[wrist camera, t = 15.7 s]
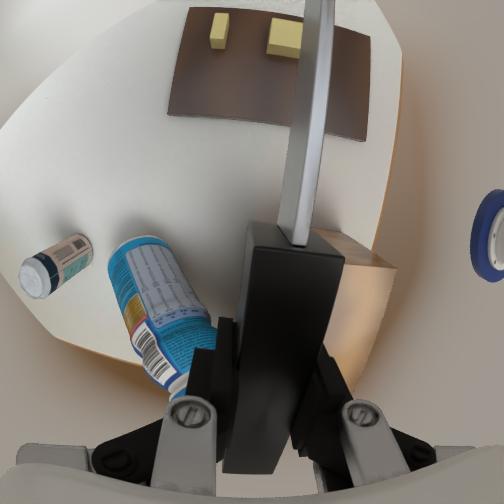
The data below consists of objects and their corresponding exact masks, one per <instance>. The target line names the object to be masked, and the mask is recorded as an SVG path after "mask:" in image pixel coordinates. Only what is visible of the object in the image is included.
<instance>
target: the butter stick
mask: <svg viewBox="0 0 504 504" xmlns="http://www.w3.org/2000/svg"><path fill="white" fill-rule="evenodd" d="M302 29H303V23H300V22H295V21H289V20H283V19H277V18H272V21H271V25H270V29H269V36H268V43H267V51H266V53H267V54H274V55H280V56H286V57H292V58H297V59H299V56H300V48H301V39H302Z"/></svg>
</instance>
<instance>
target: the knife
mask: <svg viewBox="0 0 504 504" xmlns="http://www.w3.org/2000/svg"><path fill="white" fill-rule="evenodd" d="M334 18H335V0H305V10H304V20H303V29H302V39H301V48H300V56H299V65H298V73H297V82H296V90H295V98H294V106H293V113H292V121H291V129H290V136H289V144H288V151H287V158H286V165H285V172H284V179H283V186H282V193H281V200H280V206H279V213H278V220H277V225H273V224H265V223H257V222H249V225H248V233H247V240H246V248H245V255H244V263H243V271H242V279H241V286H240V294H239V302H238V310H237V318H236V370H237V371H239V396H238V403H237V410H236V416H235V422H234V428H233V434H232V440H231V446H230V449H225V455H224V459H222V473H229V474H273V472H274V470H275V467H276V465H277V463H278V461H279V459H280V456H281V454H282V452H283V450H284V447H285V445H286V443H287V440H288V438H289V436H290V432H291V430H292V427H293V425H294V422H295V420H296V417H297V415H298V412H299V409H300V407H301V404H302V401H303V399H304V396H305V393H306V391H307V388H308V385H309V382H310V379H311V376H312V374H313V372H314V369H315V366H316V363H317V360H318V357H319V354H320V351H321V348H322V345H323V341H324V338H325V335H326V332H327V328H328V325H329V321H330V318H331V314H332V311H333V307H334V303H335V300H336V296H337V292H338V288H339V284H340V280H341V276H342V272H343V268H344V264H345V256H343V255H342V254H341V253H340V252H339V251H338V250H337V249H335V248H334V247H333V246H332V245H331V244H330V243H328V242H327V241H326V240H325V239H324V238H323V237H321V236H320V235H319V234H318V233H317V232H315V231H314V230H310V226H311V220H312V214H313V208H314V202H315V196H316V190H317V183H318V176H319V170H320V163H321V156H322V148H323V141H324V133H325V124H326V116H327V107H328V97H329V87H330V77H331V65H332V52H333V37H334Z"/></svg>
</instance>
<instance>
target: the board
mask: <svg viewBox="0 0 504 504" xmlns="http://www.w3.org/2000/svg"><path fill="white" fill-rule="evenodd" d="M215 13H228V14H229V29H228V34H227V40H226V45H225V49H213V48H212V47H211V43H210V34H211V29H212V24H213V20H214V16H215ZM272 18H277V19H283V20H289V21H295V22H300V23H303V20H304V18H302V17H298V16H292V15H287V14H281V13H274V12H267V11H259V10H250V9H239V8H221V7H190V8H189V12H188V16H187V19H186V23H185V27H184V31H183V35H182V39H181V44H180V48H179V53H178V57H177V62H176V67H175V72H174V77H173V83H172V88H171V94H170V100H169V106H168V113H167V114H168V115H169V116H190V117H208V118H222V119H233V120H243V121H252V122H260V123H268V124H275V125H281V126H288V127H291V121H292V113H293V106H294V98H295V90H296V82H297V73H298V65H299V59H297V58H292V57H286V56H280V55H274V54H267V53H266V51H267V43H268V36H269V29H270V25H271V21H272ZM370 57H371V48H370V36H367V35H364V34H361V33H358V32H355V31H352V30H349V29H346V28H342V27H339V26H335V25H334V37H333V52H332V65H331V77H330V87H329V97H328V107H327V116H326V124H325V134H330V135H335V136H339V137H343V138H348V139H352V140H356V141H360V142H365V141H366V135H367V124H368V110H369V93H370Z"/></svg>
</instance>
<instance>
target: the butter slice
mask: <svg viewBox="0 0 504 504" xmlns="http://www.w3.org/2000/svg"><path fill="white" fill-rule="evenodd" d="M228 29H229V14H228V13H215V16H214V20H213V24H212V29H211V34H210V43H211V47H212V48H213V49H225V45H226V40H227V34H228Z"/></svg>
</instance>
